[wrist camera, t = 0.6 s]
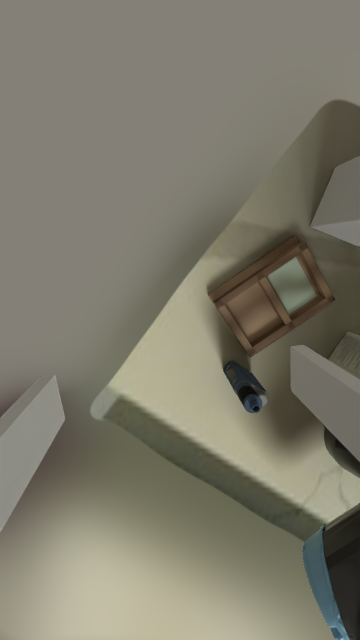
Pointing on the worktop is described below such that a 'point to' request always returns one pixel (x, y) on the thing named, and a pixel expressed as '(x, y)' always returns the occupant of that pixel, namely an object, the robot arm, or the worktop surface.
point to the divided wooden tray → (272, 295)
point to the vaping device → (246, 387)
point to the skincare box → (348, 354)
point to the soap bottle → (341, 204)
